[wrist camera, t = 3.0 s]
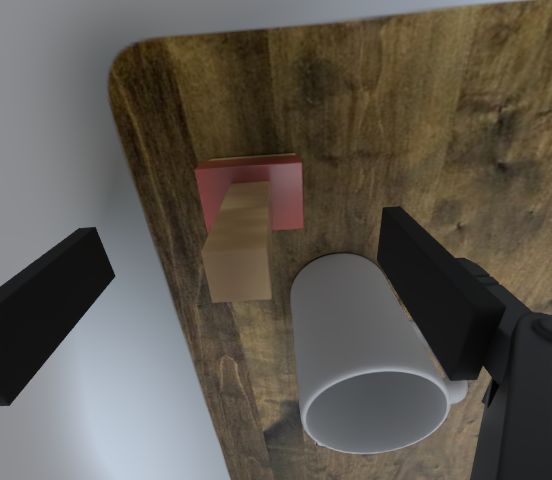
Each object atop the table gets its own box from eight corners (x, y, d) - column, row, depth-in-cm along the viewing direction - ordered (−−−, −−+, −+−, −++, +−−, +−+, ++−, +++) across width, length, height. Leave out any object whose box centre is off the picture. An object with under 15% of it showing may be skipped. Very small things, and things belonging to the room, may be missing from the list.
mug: (280, 319, 27) (285, 448, 18) (303, 243, 23) (324, 356, 14) (398, 337, 29) (461, 466, 19) (438, 267, 25) (544, 386, 15)
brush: (298, 149, 20) (322, 218, 10) (299, 208, 22) (322, 315, 12) (206, 156, 20) (137, 230, 10) (216, 214, 22) (168, 324, 12)
